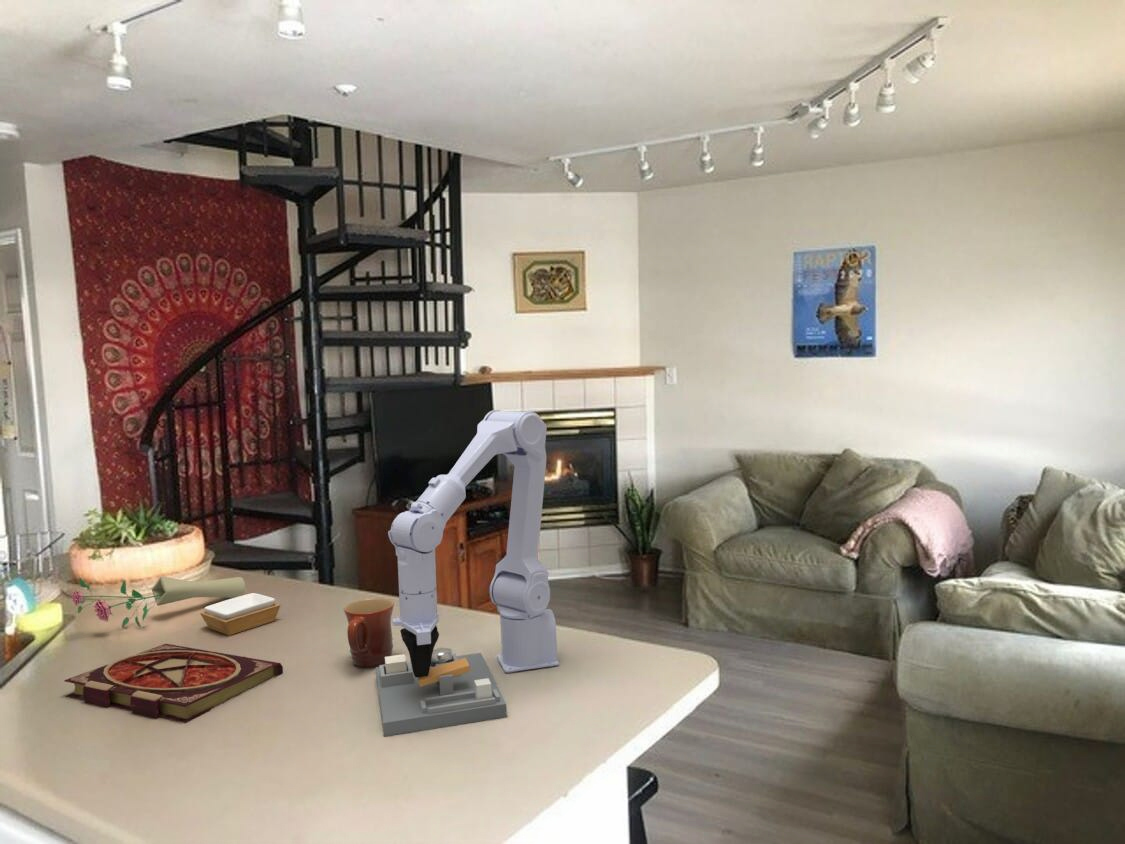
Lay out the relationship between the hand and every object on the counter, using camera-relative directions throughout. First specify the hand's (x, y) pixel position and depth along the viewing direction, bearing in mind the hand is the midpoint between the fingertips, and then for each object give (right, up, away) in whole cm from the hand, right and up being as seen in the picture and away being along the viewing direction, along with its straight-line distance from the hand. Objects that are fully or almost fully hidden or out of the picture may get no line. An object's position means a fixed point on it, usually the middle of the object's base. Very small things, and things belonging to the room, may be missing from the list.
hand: (421, 675), depth 130 cm
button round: (+2, 0, +8) cm, 8 cm away
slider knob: (+10, -3, -4) cm, 11 cm away
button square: (-5, -1, +6) cm, 8 cm away
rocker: (+3, 0, +1) cm, 4 cm away
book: (-44, -6, +12) cm, 46 cm away
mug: (-12, -4, +18) cm, 22 cm away
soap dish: (-44, -3, +43) cm, 62 cm away
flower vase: (-63, -3, +49) cm, 80 cm away
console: (+2, -4, +3) cm, 6 cm away
